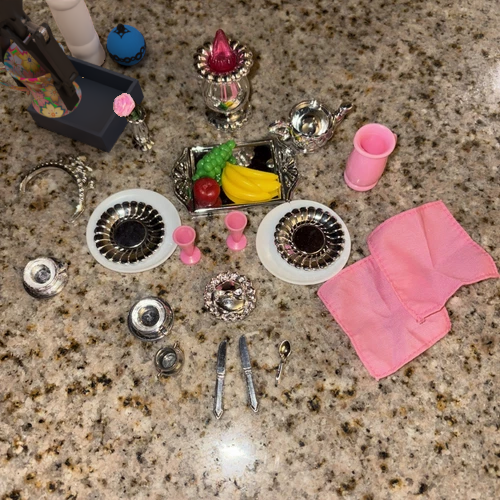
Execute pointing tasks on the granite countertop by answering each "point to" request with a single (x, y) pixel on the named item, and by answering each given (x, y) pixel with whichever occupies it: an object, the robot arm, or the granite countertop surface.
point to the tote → (93, 107)
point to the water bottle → (77, 30)
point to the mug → (35, 82)
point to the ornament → (125, 45)
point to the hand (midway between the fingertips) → (50, 95)
